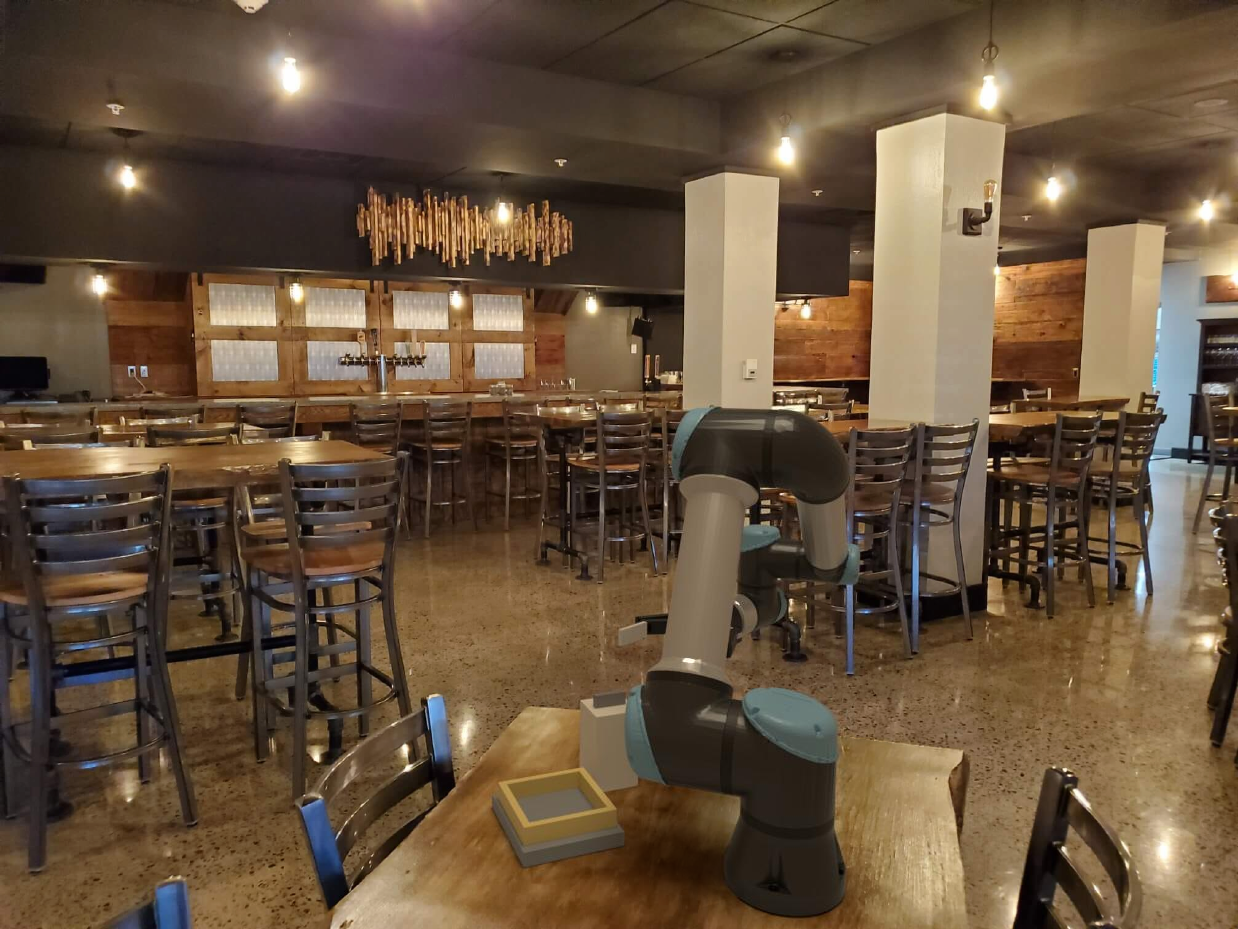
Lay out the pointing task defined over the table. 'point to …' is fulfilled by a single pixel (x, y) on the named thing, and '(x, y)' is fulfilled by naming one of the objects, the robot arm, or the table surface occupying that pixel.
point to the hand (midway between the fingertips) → (651, 647)
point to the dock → (556, 816)
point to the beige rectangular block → (605, 741)
